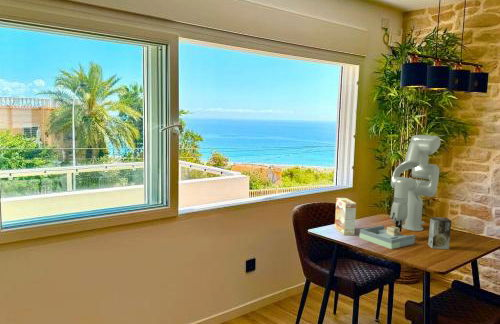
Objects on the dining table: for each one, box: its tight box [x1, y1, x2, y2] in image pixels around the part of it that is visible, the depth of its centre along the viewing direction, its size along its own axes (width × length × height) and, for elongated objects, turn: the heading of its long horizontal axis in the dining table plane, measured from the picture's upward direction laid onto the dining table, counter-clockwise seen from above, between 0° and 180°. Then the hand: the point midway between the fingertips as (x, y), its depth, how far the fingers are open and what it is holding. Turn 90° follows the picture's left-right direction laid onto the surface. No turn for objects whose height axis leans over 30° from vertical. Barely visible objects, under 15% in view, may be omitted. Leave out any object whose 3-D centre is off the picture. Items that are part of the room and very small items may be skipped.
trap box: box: [359, 224, 416, 250], centre depth 225 cm, size 20×22×5 cm
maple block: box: [386, 225, 401, 236], centre depth 227 cm, size 5×5×4 cm
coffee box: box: [427, 216, 452, 250], centre depth 216 cm, size 9×6×16 cm
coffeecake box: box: [334, 197, 357, 236], centre depth 239 cm, size 15×7×20 cm, turn 9°
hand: (398, 231), depth 230 cm, fingers closed
